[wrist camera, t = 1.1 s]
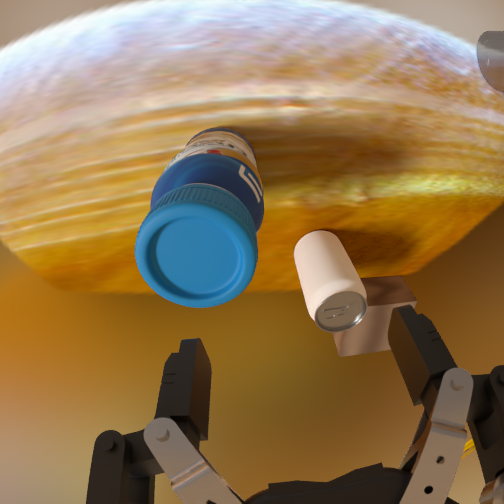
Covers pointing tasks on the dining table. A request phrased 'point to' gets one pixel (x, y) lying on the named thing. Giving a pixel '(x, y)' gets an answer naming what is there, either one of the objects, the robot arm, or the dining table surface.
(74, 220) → the dining table surface
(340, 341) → the walnut block
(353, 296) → the can
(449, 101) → the dining table surface
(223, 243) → the beverage bottle
